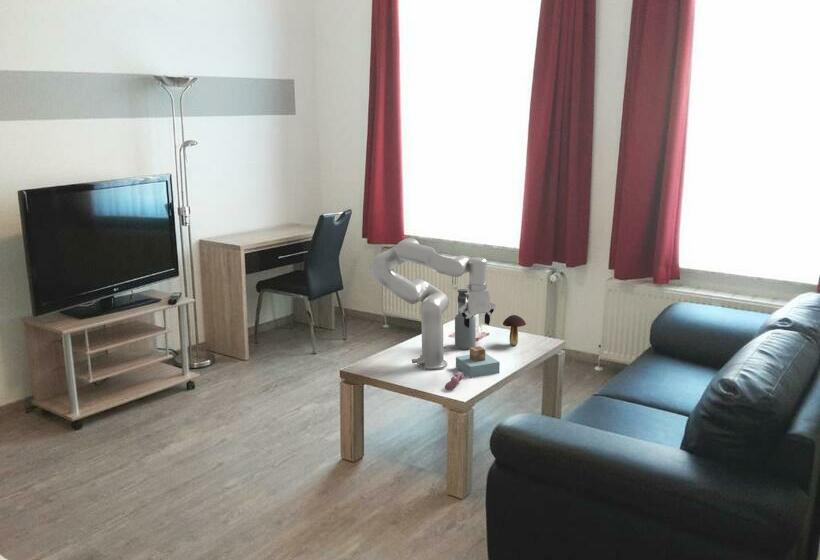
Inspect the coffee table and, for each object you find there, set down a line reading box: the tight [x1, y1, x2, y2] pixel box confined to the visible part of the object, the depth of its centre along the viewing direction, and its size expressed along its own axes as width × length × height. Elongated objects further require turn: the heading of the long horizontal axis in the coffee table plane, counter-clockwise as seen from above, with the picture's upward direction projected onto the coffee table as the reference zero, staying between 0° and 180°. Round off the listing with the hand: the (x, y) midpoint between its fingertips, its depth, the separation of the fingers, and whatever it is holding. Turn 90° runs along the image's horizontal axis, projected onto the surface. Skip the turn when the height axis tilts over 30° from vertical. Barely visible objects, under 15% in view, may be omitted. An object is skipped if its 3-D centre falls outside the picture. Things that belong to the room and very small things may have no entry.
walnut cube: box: [469, 345, 486, 362], centre depth 321 cm, size 5×5×5 cm
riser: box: [455, 352, 501, 379], centre depth 322 cm, size 14×14×5 cm
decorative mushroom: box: [502, 314, 527, 346], centre depth 353 cm, size 11×11×15 cm
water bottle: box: [454, 288, 476, 350], centre depth 351 cm, size 10×10×28 cm
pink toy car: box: [444, 371, 465, 390], centre depth 304 cm, size 10×5×7 cm, turn 159°
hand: (477, 325), depth 318 cm, fingers open, 9 cm apart
